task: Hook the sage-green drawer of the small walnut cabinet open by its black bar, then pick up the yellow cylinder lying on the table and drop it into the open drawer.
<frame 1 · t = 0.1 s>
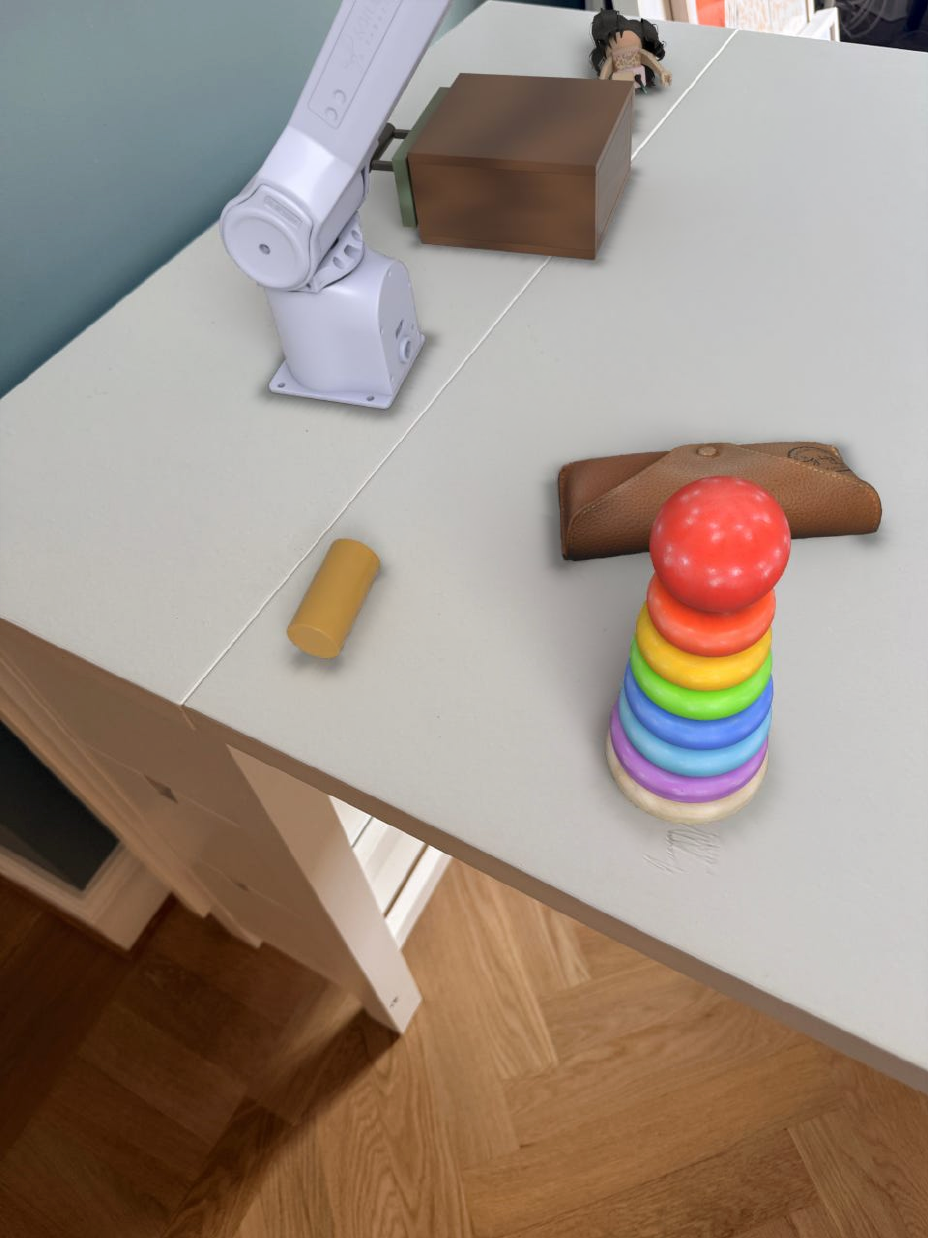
yellow cylinder: (340, 613, 55), on the table
cabinet: (527, 207, 78), on the table
toy figure: (628, 94, 88), on the table
stacking toy: (684, 759, 48), on the table
sunglasses case: (704, 510, 57), on the table
drawer: (471, 159, 76), point 4 cm above the table, slide at 0.5 cm
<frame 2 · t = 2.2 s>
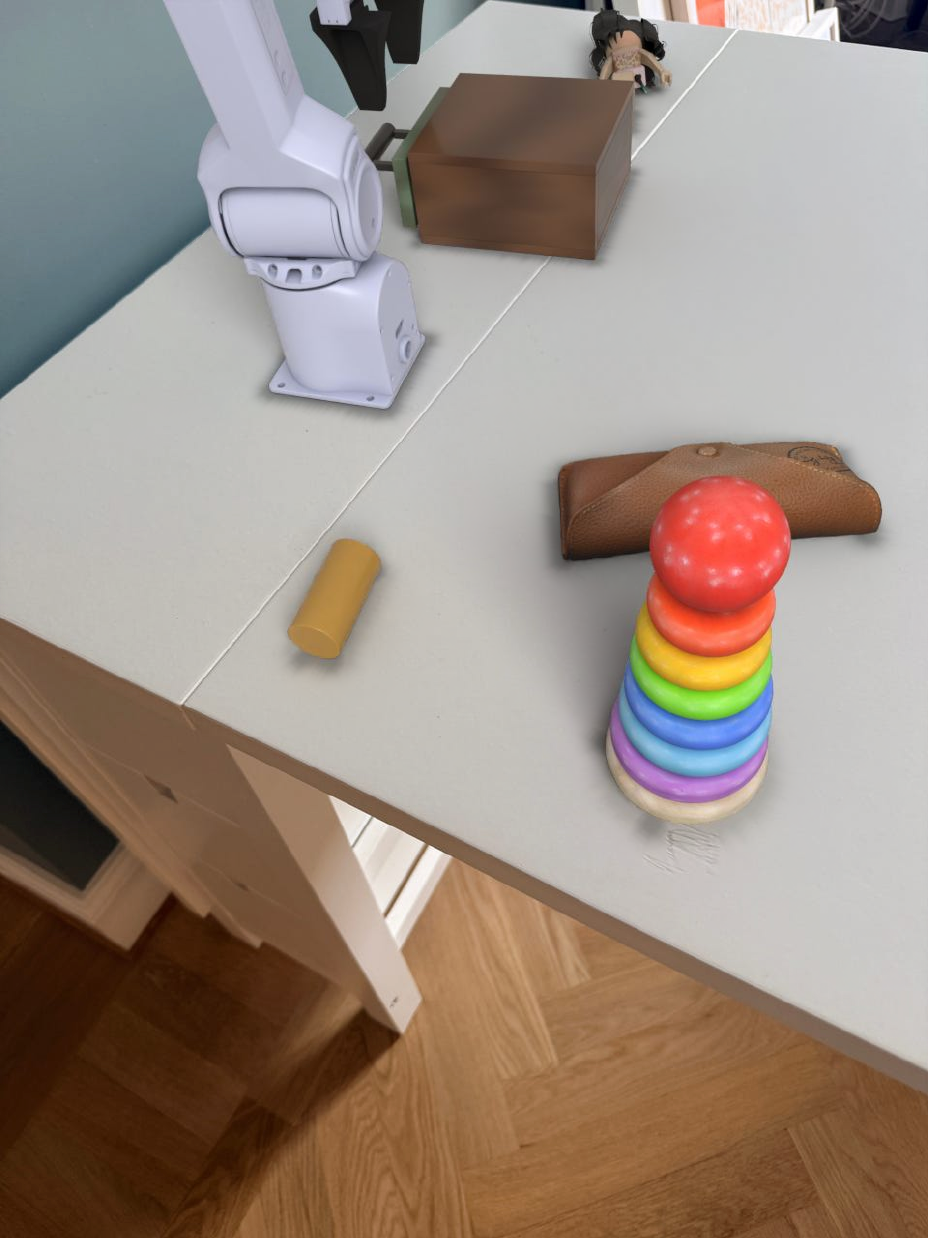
hand: (389, 84, 73), 9 cm above the table, tool pointing down, fingers open, 7 cm apart
nothing on the table moved.
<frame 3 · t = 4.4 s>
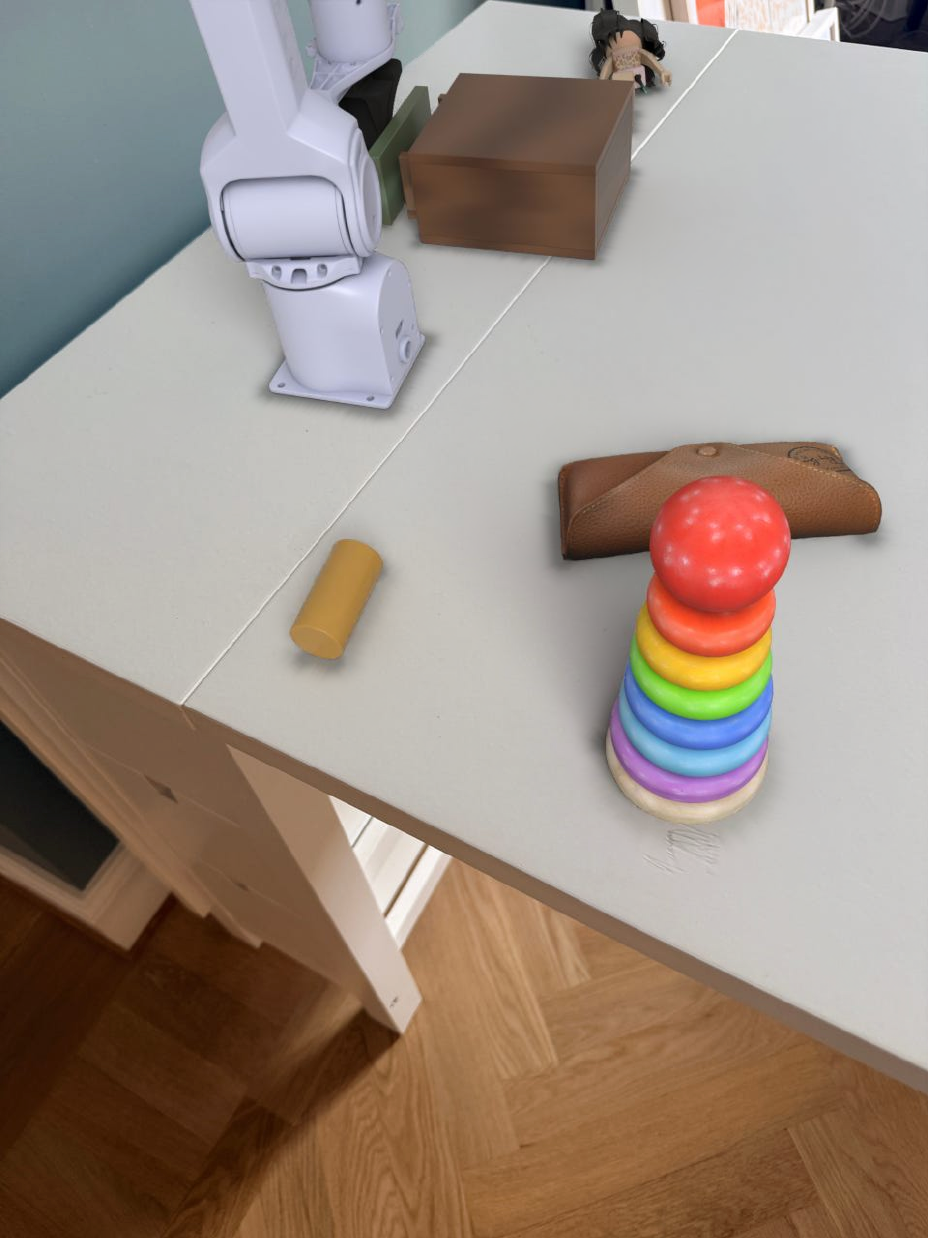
hand: (376, 160, 79), 3 cm above the table, tool pointing down, fingers closed, pressing on drawer
drawer: (445, 157, 77), point 4 cm above the table, slide at 2.7 cm, touching gripper
everything else where it was.
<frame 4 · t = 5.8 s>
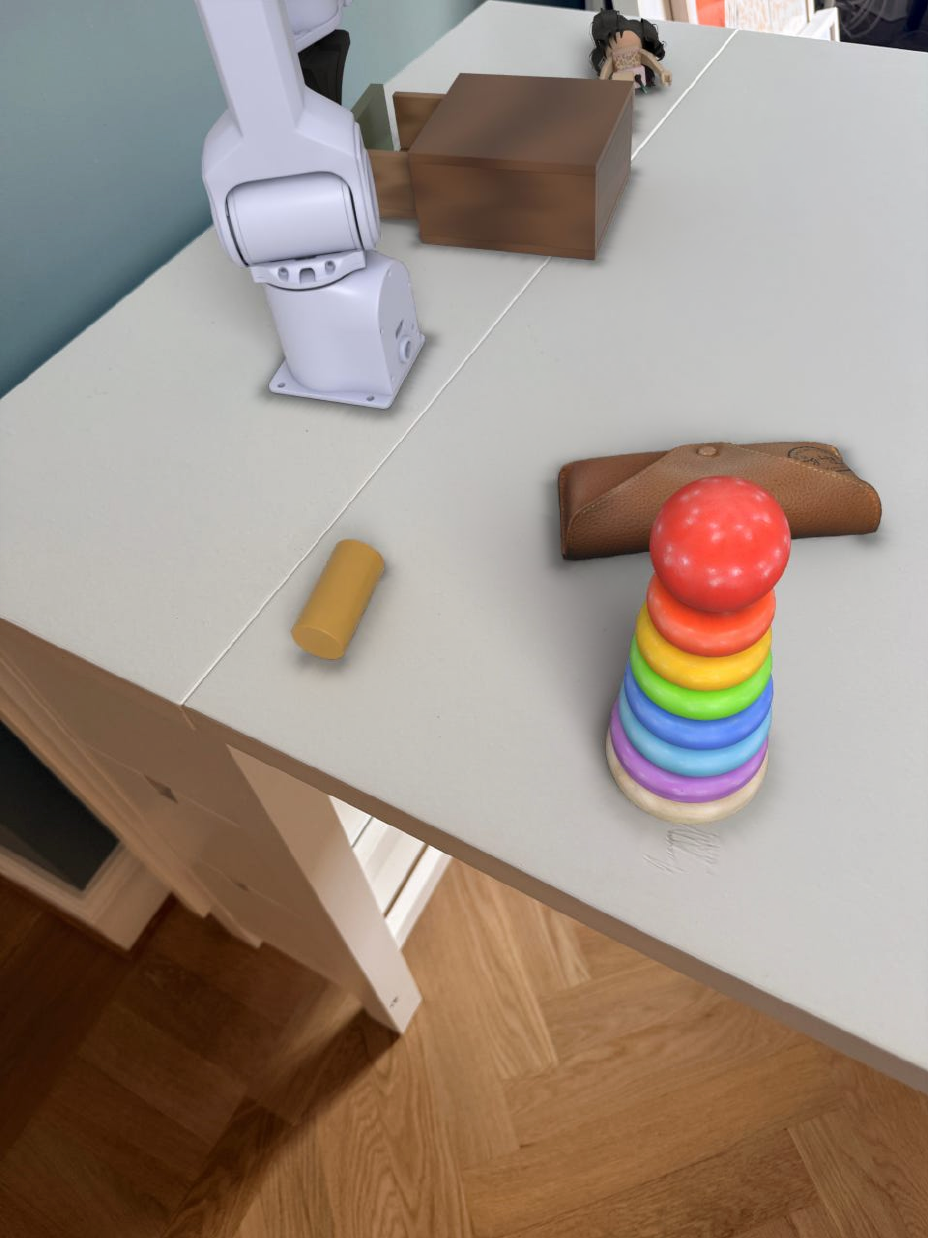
hand: (327, 134, 79), 5 cm above the table, tool pointing down, fingers closed
drawer: (400, 154, 78), point 4 cm above the table, slide at 6.8 cm
everything else where it was.
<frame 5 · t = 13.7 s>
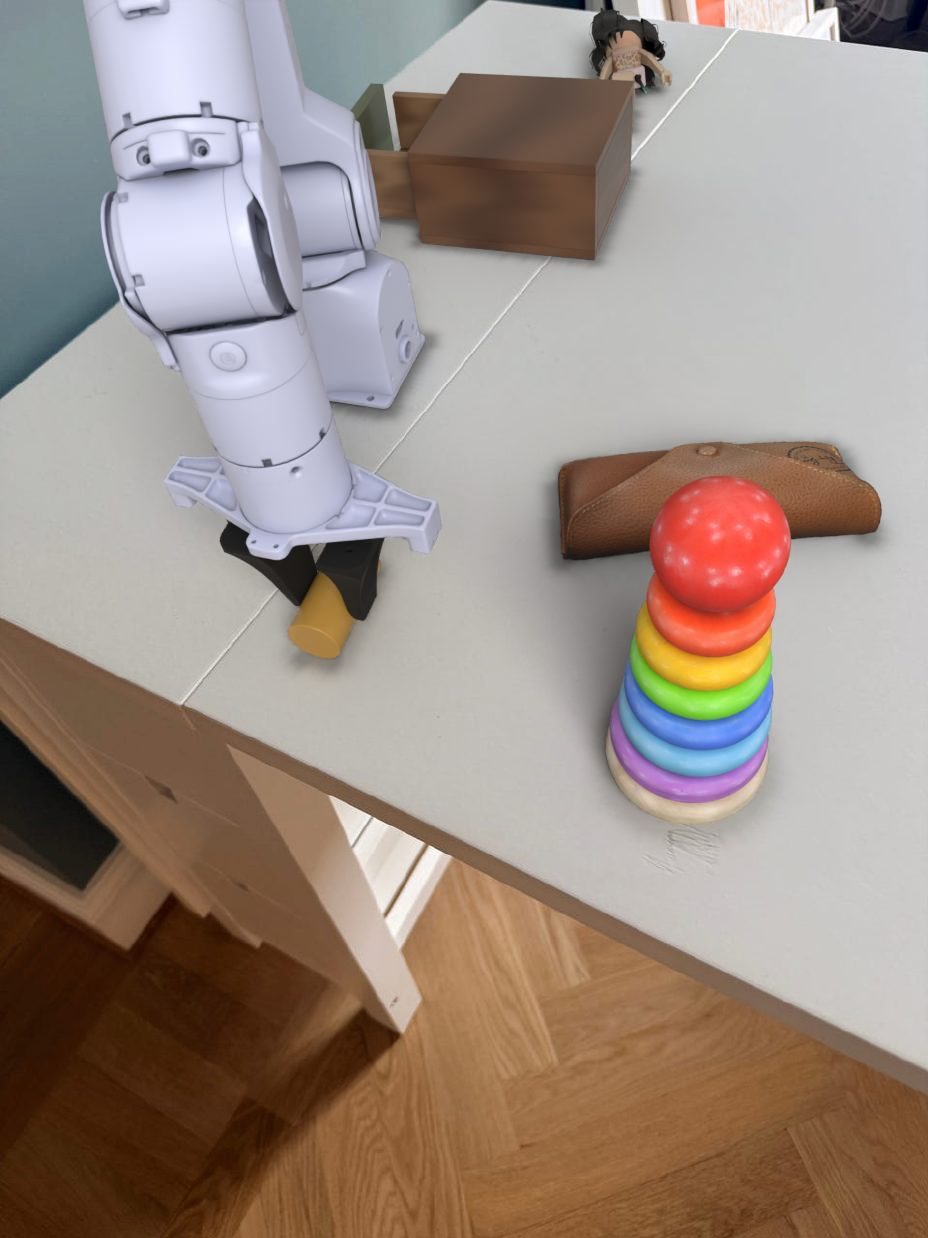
hand: (335, 599, 54), 1 cm above the table, tool pointing down, fingers closed on yellow cylinder, 3 cm apart
yellow cylinder: (341, 614, 55), on the table, touching gripper
everything else where it was.
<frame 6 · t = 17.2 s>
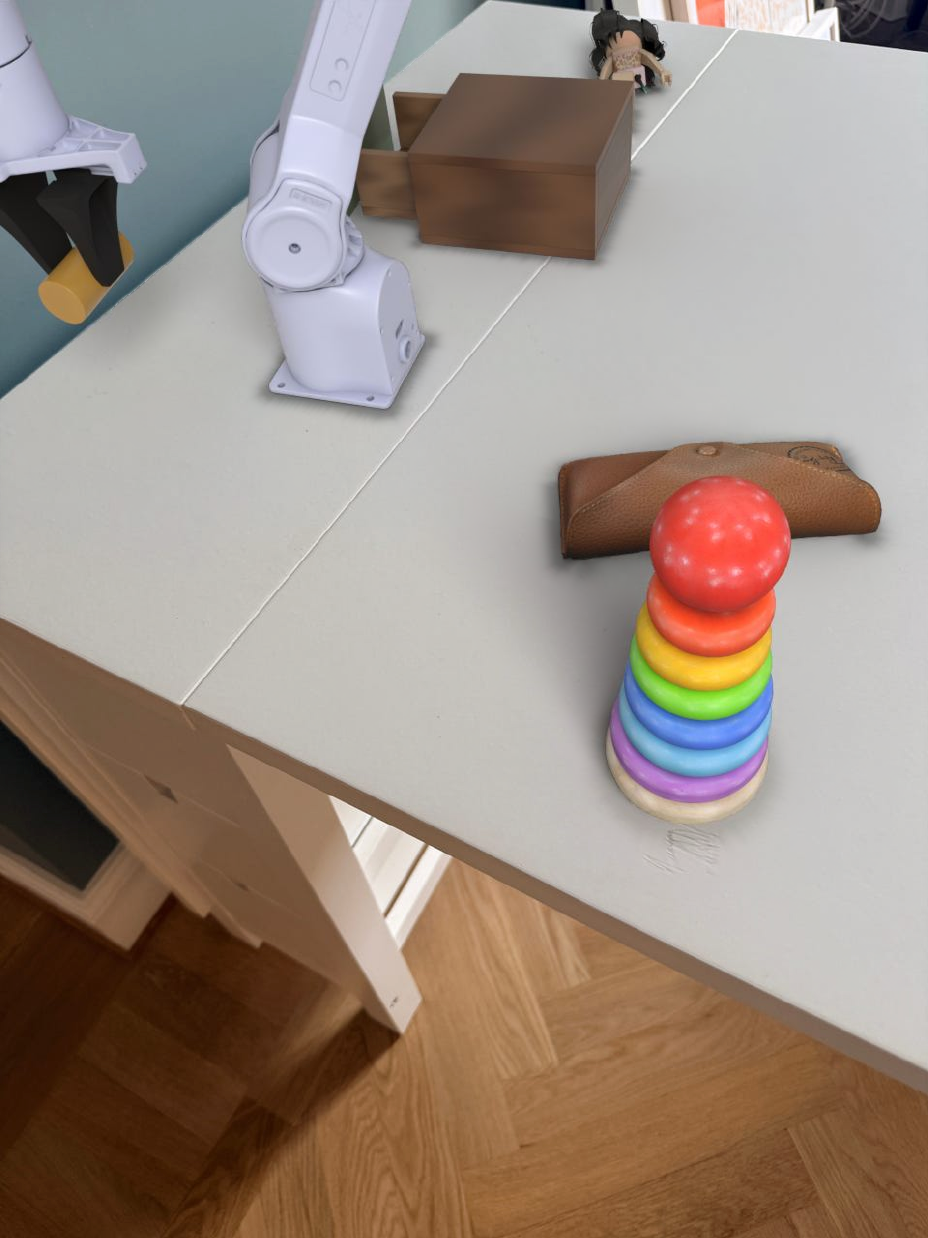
hand: (88, 274, 61), 10 cm above the table, tool pointing down, fingers closed on yellow cylinder, 3 cm apart
yellow cylinder: (97, 294, 62), point 8 cm above the table, touching gripper
everything else where it was.
when the fingers open (9 cm above the table, at t = 21.0 s): yellow cylinder drops 4 cm and tips over, resting on drawer.
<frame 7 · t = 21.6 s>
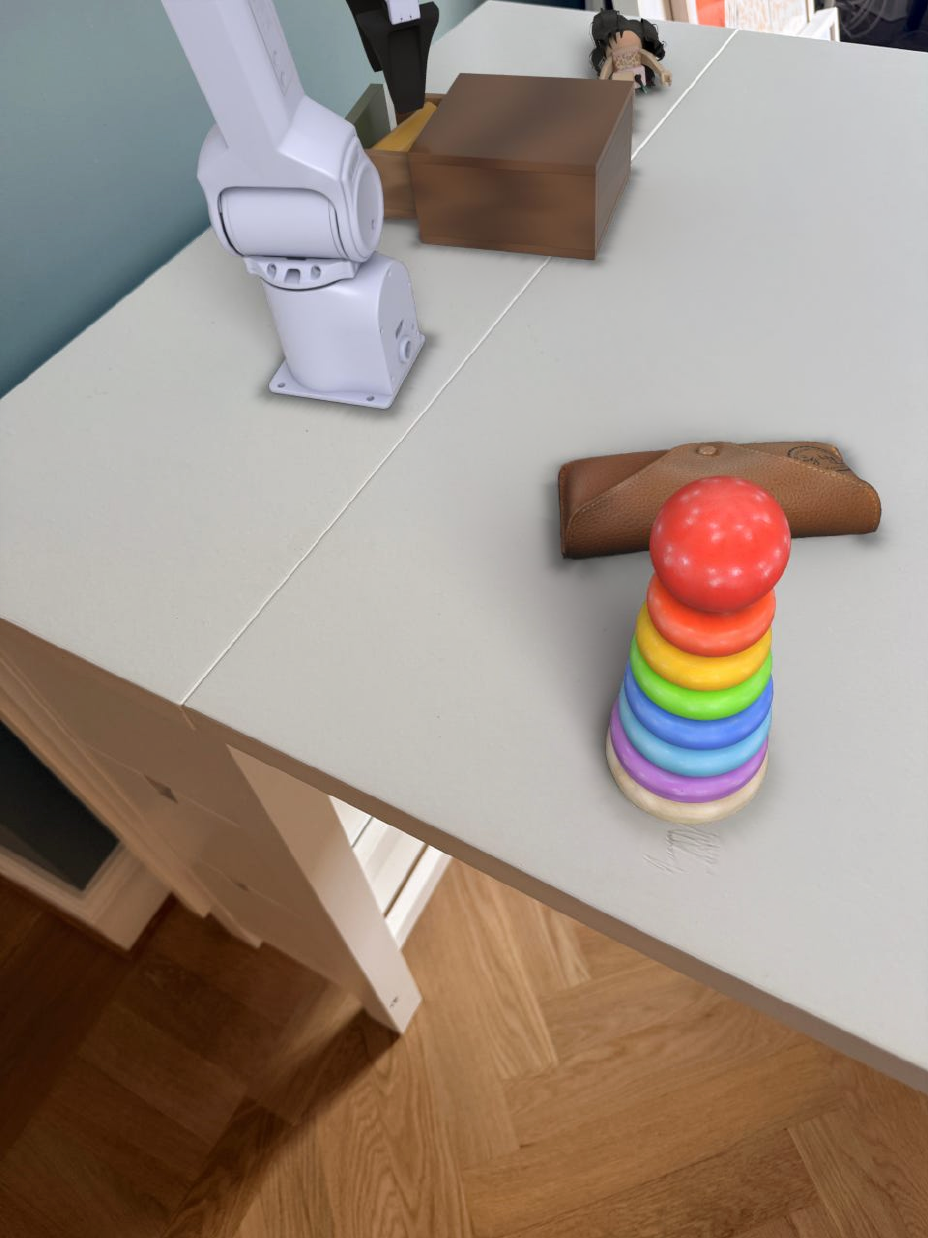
hand: (397, 87, 73), 9 cm above the table, tool pointing down, fingers open, 7 cm apart
yellow cylinder: (420, 160, 78), point 3 cm above the table, tilted 37°, touching drawer
drawer: (400, 154, 78), point 4 cm above the table, slide at 6.8 cm, touching yellow cylinder
everything else where it was.
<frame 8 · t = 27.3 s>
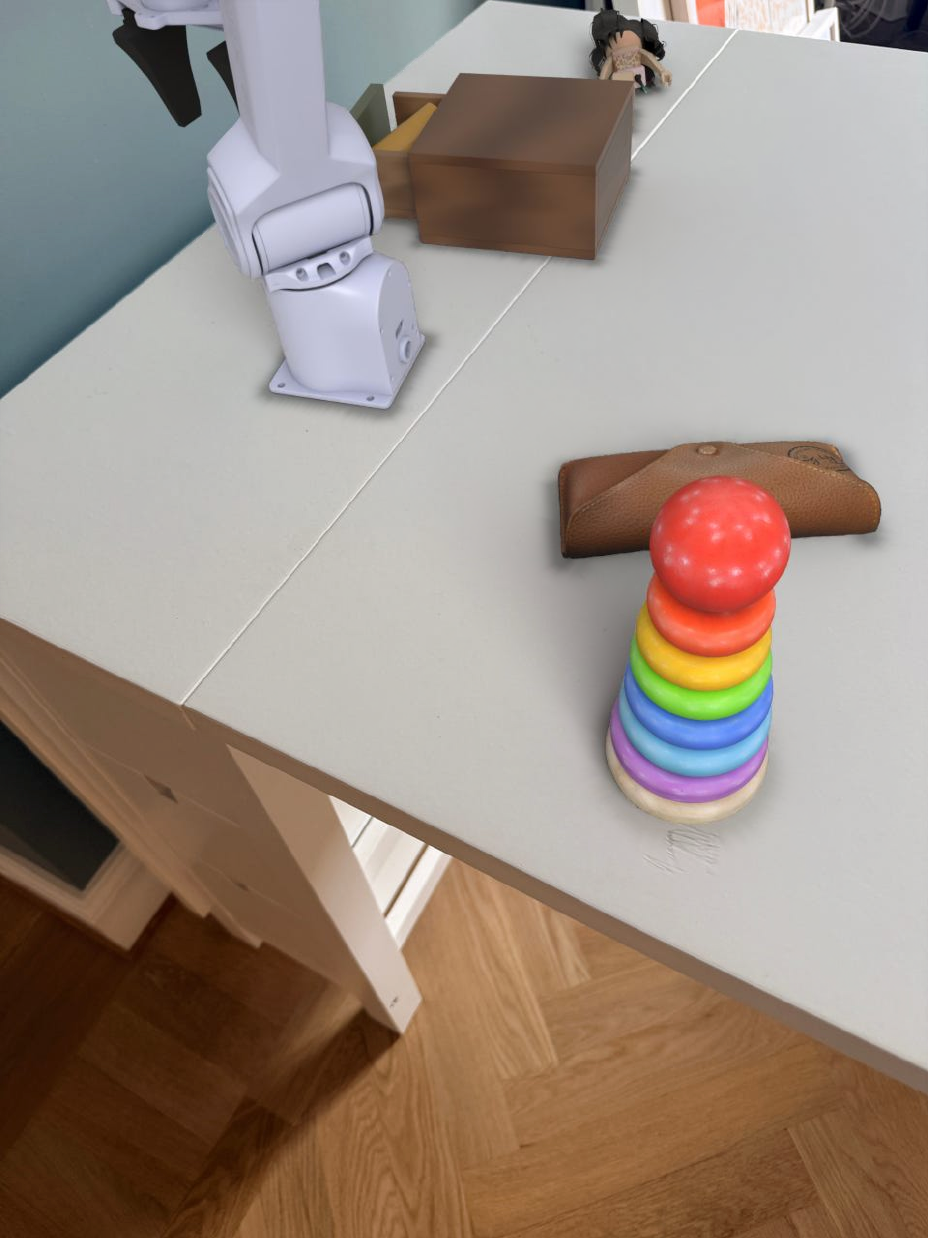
hand: (226, 130, 70), 10 cm above the table, tool pointing down, fingers open, 7 cm apart
nothing on the table moved.
at the end: drawer slide at 6.8 cm; yellow cylinder inside the target area in the drawer (2.8 cm from its centre), point 3.1 cm above the cabinet's base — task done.
